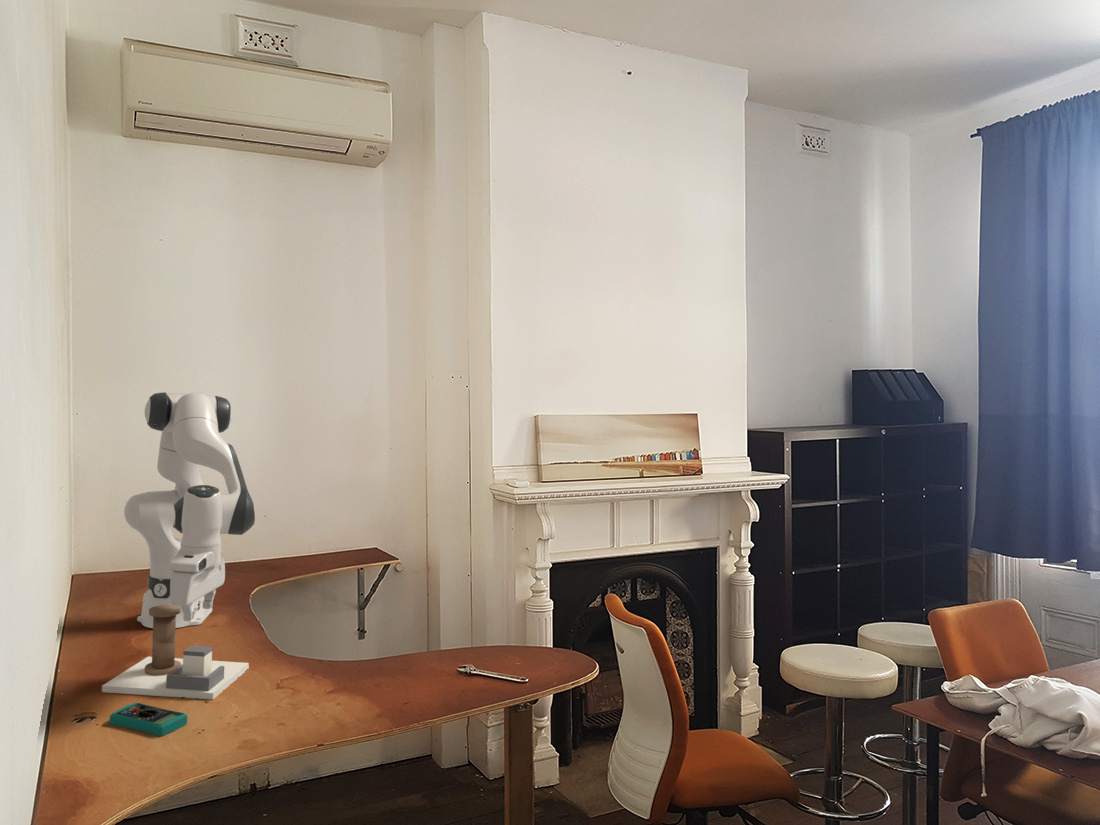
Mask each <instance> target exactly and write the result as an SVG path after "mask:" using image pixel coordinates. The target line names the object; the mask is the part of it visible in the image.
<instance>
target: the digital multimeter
mask: <svg viewBox="0 0 1100 825" xmlns="http://www.w3.org/2000/svg"><path fill="white" fill-rule="evenodd" d="M109 724H110V725H113V726H115V727H116V726H118V727H122V728H126V729H130V730H134V731H138V732H143V733H147V734H150V735H154V736H157V737H163V736H166V735H168V734H170V733H173V732H175V731H177V730H178V729H180V728H182V727H184V726H186V725H187V724H188V714H186V713H184V712H180V711H174V710H169V709H165V708H162V707H156V706H153V705H149V704H144V703H141V702H134V703H131V704H128V705H125V706H123V707H121V708H119V709H117V710H115V711H113V713H111V714H110V715H109Z"/></svg>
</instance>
